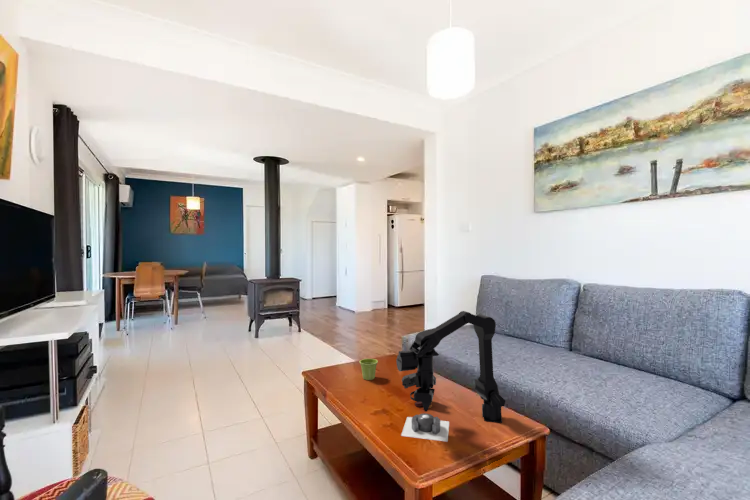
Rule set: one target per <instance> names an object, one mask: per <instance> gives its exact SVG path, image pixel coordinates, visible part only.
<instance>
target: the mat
mask: <svg viewBox="0 0 750 500" xmlns="http://www.w3.org/2000/svg"><path fill="white" fill-rule="evenodd" d="M412 417H413V416H407V417H406V420H405V423H404V426H403V428H402V432H401V433H400V436H401V437H407V438H415V439H424V440H430V441H440V442H446V443H448V441H449V430H450V421H448V420H447V421H446V420H440V432H439V433H438V434H436V435H435V434H433V433H432V431H431V432H423V431H420V430H419V429H418V432H414V431H413V430H412Z"/></svg>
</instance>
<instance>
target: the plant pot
mask: <svg viewBox="0 0 750 500" xmlns="http://www.w3.org/2000/svg"><path fill="white" fill-rule="evenodd" d="M378 361H379V360H378V359H376V358H363V359H361V360H359V364H360V367H361V374H362V379H363V380H367V381H373V380H374V379H375V378H376V369H377V365H378V363H379V362H378Z"/></svg>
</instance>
